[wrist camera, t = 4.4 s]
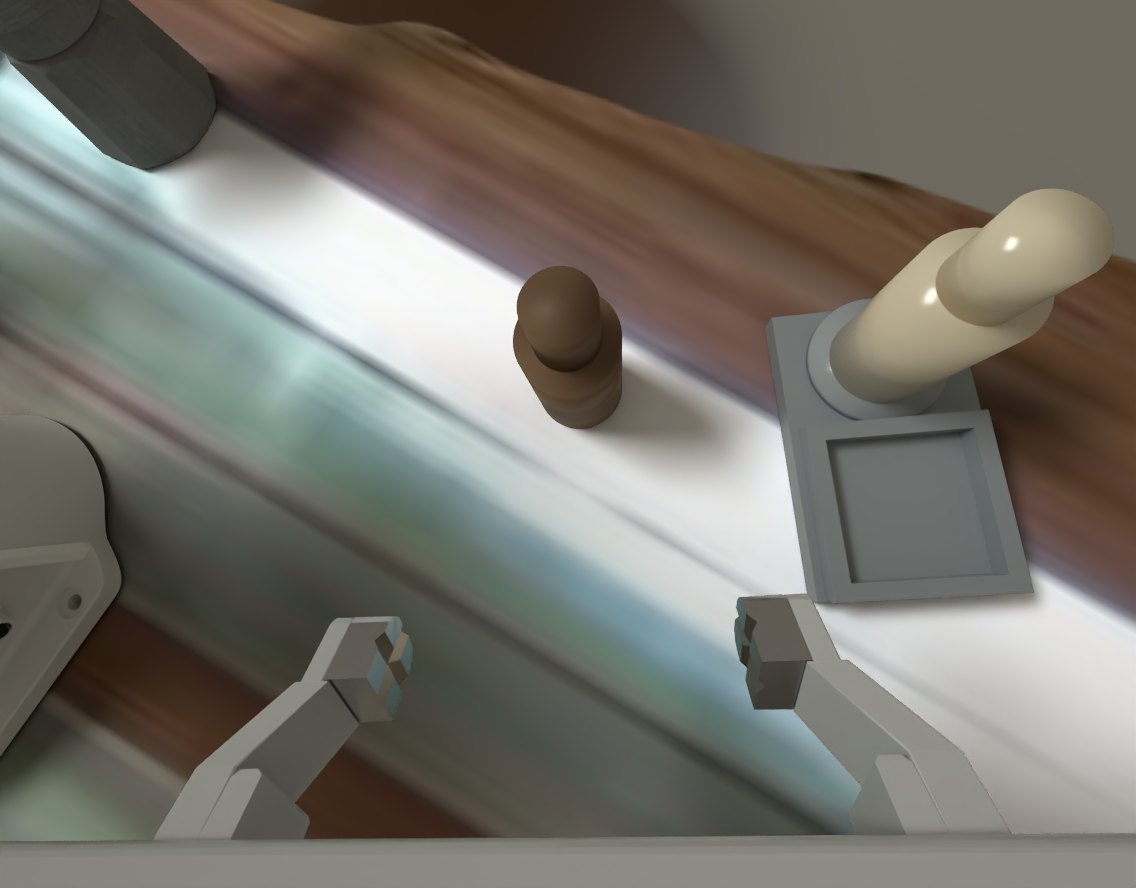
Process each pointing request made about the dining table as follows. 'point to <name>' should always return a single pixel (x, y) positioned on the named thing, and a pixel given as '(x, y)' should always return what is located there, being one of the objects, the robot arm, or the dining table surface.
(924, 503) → the cruet stand
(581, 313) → the pepper mill
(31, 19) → the coffeepot
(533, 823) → the dining table surface
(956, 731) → the dining table surface
